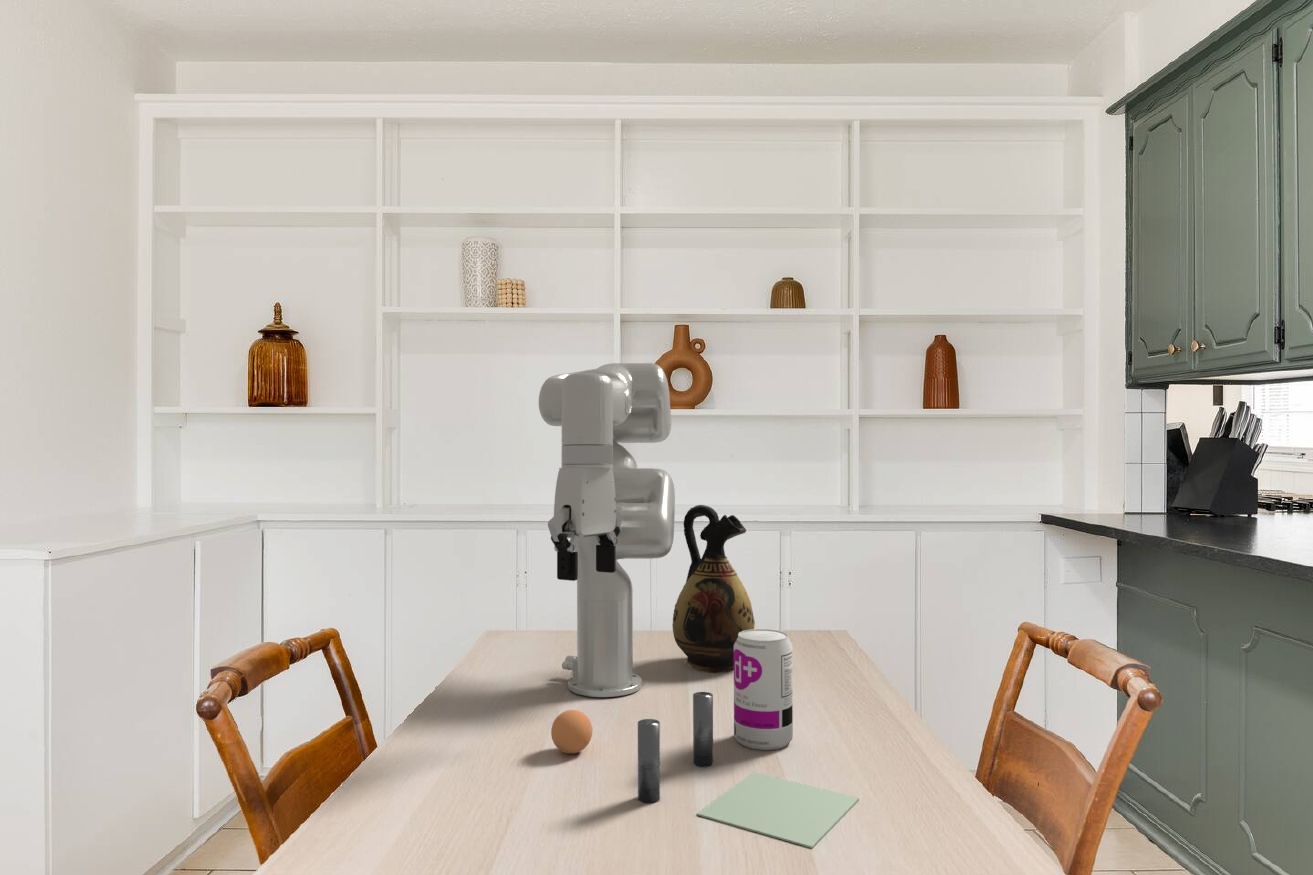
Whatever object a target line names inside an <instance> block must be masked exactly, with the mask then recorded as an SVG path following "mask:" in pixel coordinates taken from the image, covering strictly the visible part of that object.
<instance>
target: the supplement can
mask: <svg viewBox="0 0 1313 875" xmlns="http://www.w3.org/2000/svg"><path fill="white" fill-rule="evenodd" d="M793 668H794V666H793V643H791V640H790V638H789V635H788V634H787V633H786V632H784V631H782V630H781V631H780V630H777V629H768V628H754V629H752V630H745V631H742V632H739V634H738V638H737V640H736V642H735V644H734V670H733V736H734V738H735V739H736V740H737V741H738V742H739V744H740V745H742V746H744V747H746V748H749V749H752V750H759V751H772V750H780V749H783V748H785V747H786V746H788V745H789V743H790V742H792V740H793V738H794V737H793V736H794V735H793V734H794V729H793V728H794V722H793V721H794V719H793V718H794V716H793V715H794V711H793V710H794V709H793V707H794V702H793V701H794V699H793V697H794V696H793V695H794V694H793V693H794V692H793V691H794V690H793V687H794V686H793V684H794V683H793V676H794V675H793V673H794V672H793Z"/></svg>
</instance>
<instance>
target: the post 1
mask: <svg viewBox="0 0 1313 875" xmlns="http://www.w3.org/2000/svg"><path fill="white" fill-rule="evenodd" d="M660 725H661V724H660V721H659V720H657V719H654V718H644V719H643V718H642V719H640V720H639V721H638V722H637V800H638V801H639V802H640V803H644V804H655V803H657V802H659V801H660V799H661V794H660V793H661V786H660V784H661V783H660V782H661V774H660V773H661V768H660V767H661V765H660V764H661V756H660V754H661V748H660V743H661V742H660V739H661V738H660V737H661V736H660V735H661V734H660V732H661V731H660V730H661V729H660V728H661V727H660Z"/></svg>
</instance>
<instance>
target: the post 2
mask: <svg viewBox="0 0 1313 875" xmlns="http://www.w3.org/2000/svg"><path fill="white" fill-rule="evenodd" d="M713 710H714V694H713V693H711V692H707V691H696V692H694V693H693V694H692V745H693V746H692V748H693V749H692V751H693V752H692V755H693V756H692V758H693V760H692V761H693V762H692V764H693V765H694V766H696V767H699V768H709V767H711V766H713V765H714V711H713Z"/></svg>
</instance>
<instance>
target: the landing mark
mask: <svg viewBox="0 0 1313 875" xmlns="http://www.w3.org/2000/svg"><path fill="white" fill-rule="evenodd" d="M858 801H860V797H857V796H854V795H851V794H850V795H849V794H846V793H841V792H838V791H835V790H834V791H833V790H829V789H825V788H821V787H816V786H813V785H808V784H805V783H801V782H797V781H792V780H788V779H784V778H780V777H776V776H772V775H767V774H763V773H760V772H756V771H752V772H751V773H750V774H748V775H747V776H745V777H744V778H743V779H741V780H740V781H738V782H737V783H736V784H735V785H733V786H732V787H730V788H729V789H728V790H727V791H725V792H723V793H722V794H721V795H720V796H718V797H717V798H716V799H714V800H713V801H712V802H710V803H709V804H708V805H706V806H705V807H703V808H702V809H701V810H699V811H697V813H696V816H700V817H702V818H706V819H709V820H712V821H716V822H720V823H723V824H726V825H730V826H733V827H737V828H740V829H744V830H747V831H751V832H754V833H758V834H762V835H764V836H767V837H772V838H775V839H779V840H782V841H786V842H789V843H792V844H796V845H800V846H802V847H806V848H810V849H813V848H814V847H815V846H816V845H817V844H818V843H819V842H820V841H821V840H822V839H823V838H824V837H825V836H826V835H827V834H828V833H829V832H830V831H831V829H832V828H834V827H835V825H836V824H838V822H840V820H841V819H842V818H843V817H844V816H845V815H846V814H847V813H848V812H849V811H850V810H851V809H852V808H853V807H854V806H855V804H857V803H858Z"/></svg>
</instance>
